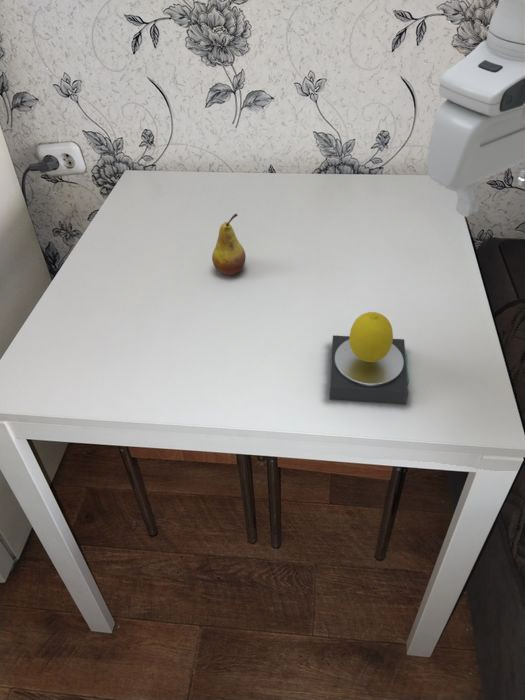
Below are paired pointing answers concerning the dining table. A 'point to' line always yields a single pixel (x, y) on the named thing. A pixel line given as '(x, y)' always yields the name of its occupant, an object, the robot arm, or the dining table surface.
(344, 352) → the scale pan
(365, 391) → the scale
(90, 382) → the dining table surface
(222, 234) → the fruit
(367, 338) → the lemon
